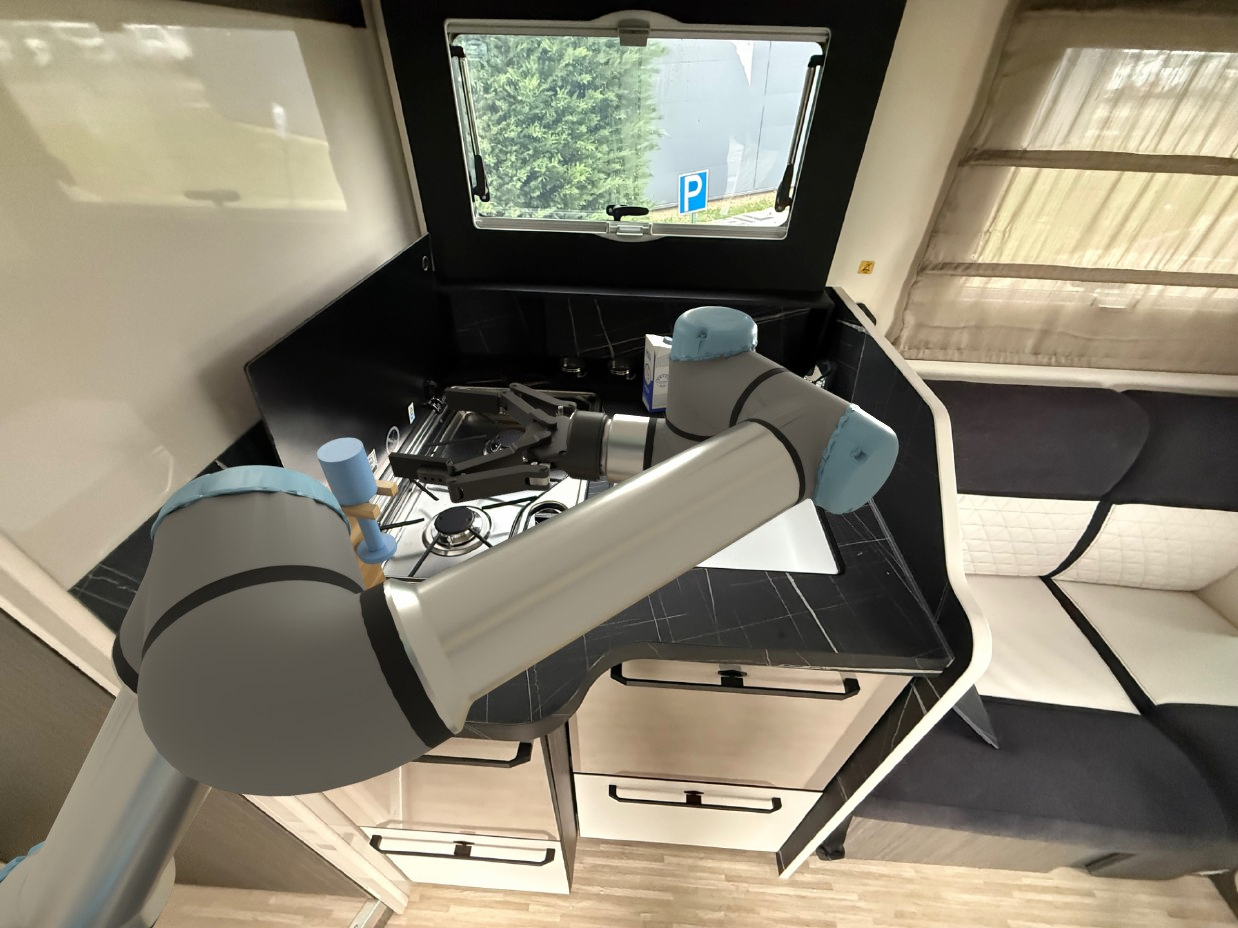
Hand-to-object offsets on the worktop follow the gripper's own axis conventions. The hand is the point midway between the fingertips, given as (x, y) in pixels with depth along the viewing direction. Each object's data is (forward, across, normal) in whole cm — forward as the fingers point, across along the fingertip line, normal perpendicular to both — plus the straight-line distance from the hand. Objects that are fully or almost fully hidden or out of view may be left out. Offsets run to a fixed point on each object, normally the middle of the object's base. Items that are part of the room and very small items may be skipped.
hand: (422, 428), depth 59 cm
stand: (+12, +1, -42) cm, 44 cm away
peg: (+12, +1, -23) cm, 26 cm away
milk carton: (-22, +81, -42) cm, 94 cm away
